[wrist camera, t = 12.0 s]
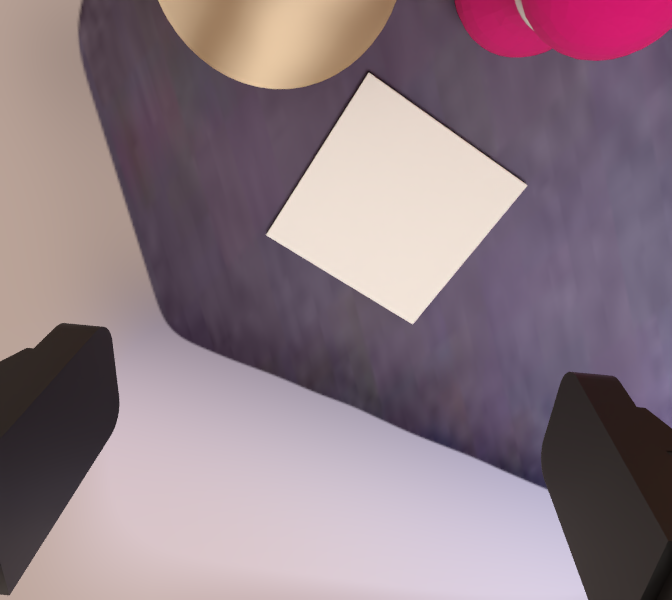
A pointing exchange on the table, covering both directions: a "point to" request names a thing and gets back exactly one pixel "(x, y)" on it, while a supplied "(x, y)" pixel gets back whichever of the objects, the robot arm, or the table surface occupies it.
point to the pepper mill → (565, 26)
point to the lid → (278, 36)
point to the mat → (393, 201)
